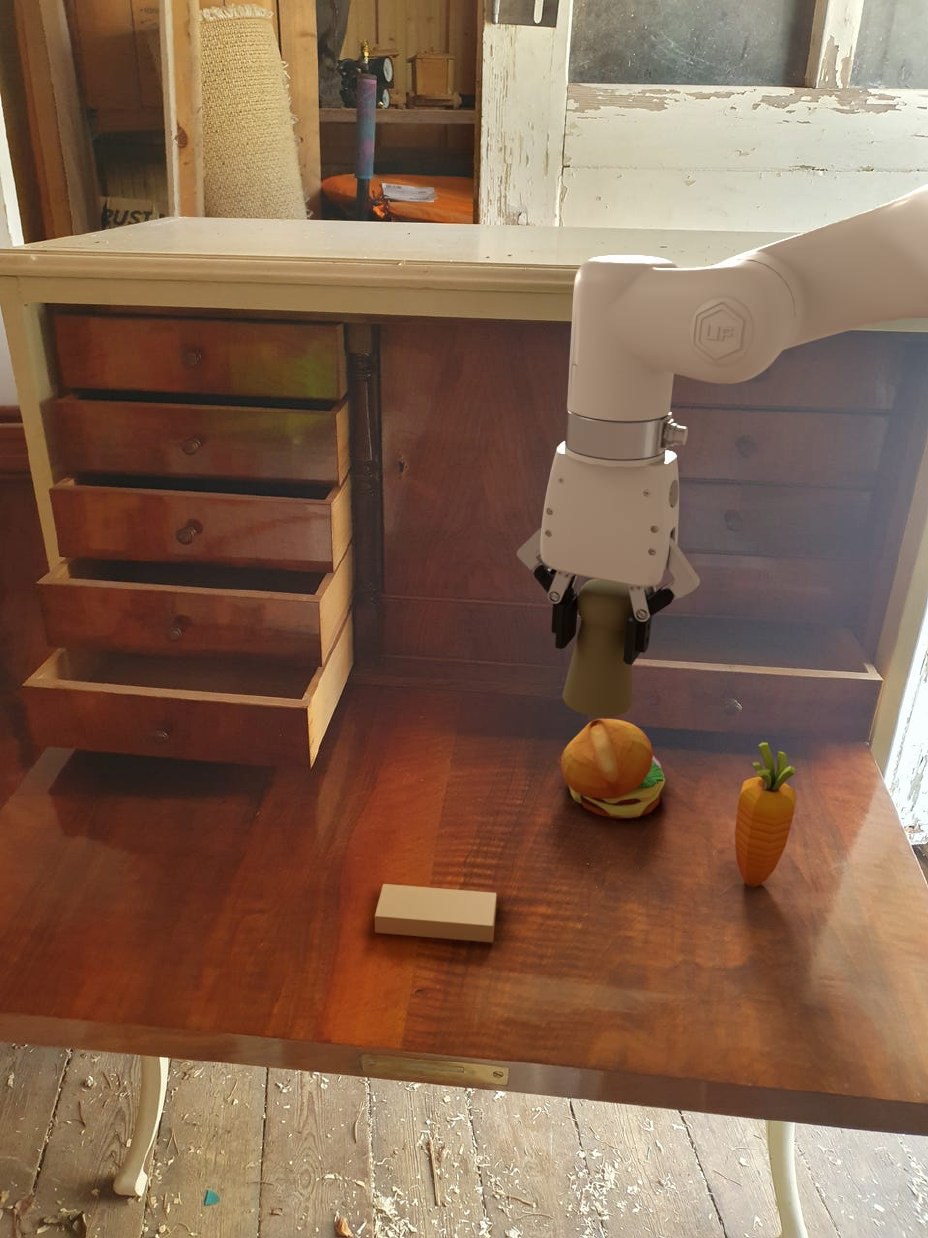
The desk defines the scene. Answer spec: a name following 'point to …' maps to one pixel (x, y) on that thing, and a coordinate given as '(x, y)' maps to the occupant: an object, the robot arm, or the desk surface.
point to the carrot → (764, 818)
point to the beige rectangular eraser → (436, 913)
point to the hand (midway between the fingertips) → (598, 647)
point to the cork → (600, 652)
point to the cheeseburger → (613, 769)
